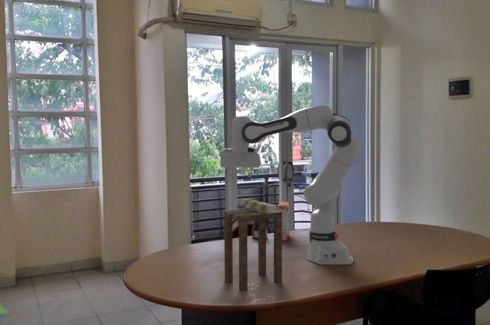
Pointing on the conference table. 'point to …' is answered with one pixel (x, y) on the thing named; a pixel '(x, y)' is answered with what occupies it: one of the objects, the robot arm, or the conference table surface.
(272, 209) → the bar
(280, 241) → the stand
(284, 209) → the cracker box
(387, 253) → the conference table surface
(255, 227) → the ink bottle
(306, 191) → the robot arm
